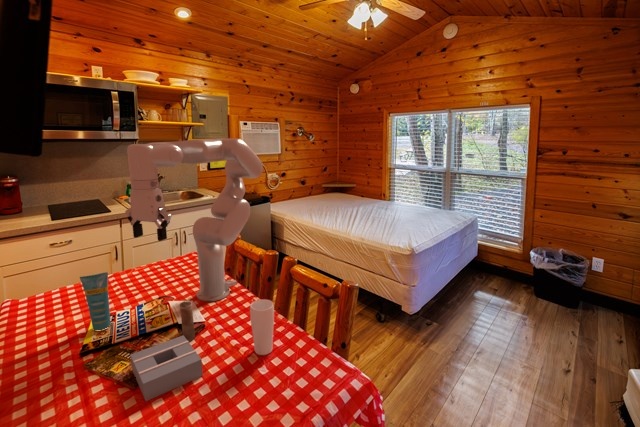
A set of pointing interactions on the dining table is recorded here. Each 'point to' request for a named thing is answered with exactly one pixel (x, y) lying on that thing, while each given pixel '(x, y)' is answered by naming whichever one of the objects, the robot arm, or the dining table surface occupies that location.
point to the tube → (97, 299)
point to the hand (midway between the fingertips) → (150, 238)
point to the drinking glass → (262, 325)
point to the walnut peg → (187, 320)
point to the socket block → (165, 367)
